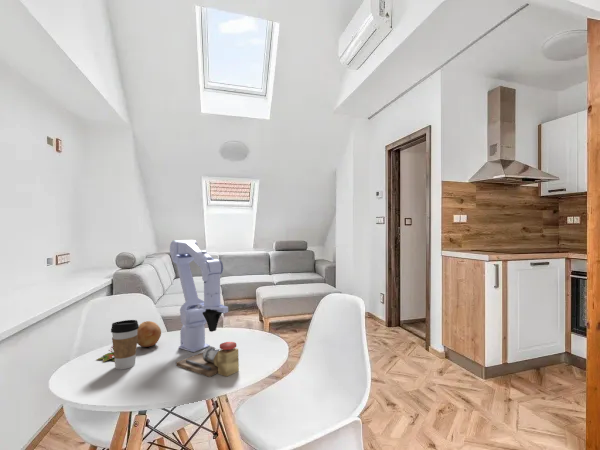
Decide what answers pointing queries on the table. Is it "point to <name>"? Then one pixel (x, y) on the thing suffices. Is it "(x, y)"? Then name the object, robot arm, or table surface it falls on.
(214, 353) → the pipe coupling
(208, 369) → the slider rig
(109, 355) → the lily flower
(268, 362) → the table surface
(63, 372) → the table surface
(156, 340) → the onion
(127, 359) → the coffee cup
